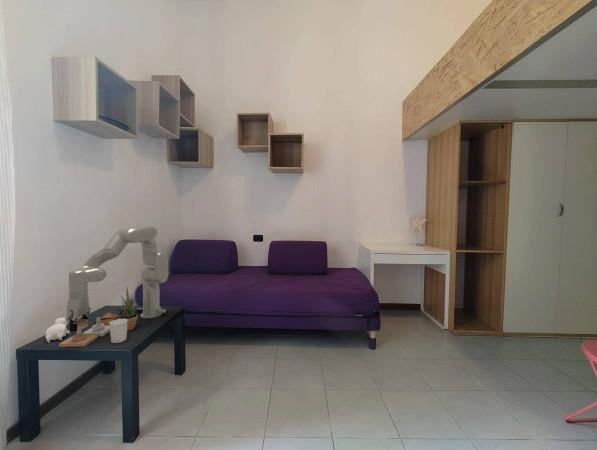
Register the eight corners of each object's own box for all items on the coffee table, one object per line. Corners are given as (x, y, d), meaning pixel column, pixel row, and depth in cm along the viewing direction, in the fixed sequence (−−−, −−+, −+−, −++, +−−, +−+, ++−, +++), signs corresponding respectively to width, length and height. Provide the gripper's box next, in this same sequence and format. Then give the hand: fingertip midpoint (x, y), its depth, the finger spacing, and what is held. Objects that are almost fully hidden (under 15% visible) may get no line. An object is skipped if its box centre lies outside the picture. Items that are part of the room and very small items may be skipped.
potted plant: (123, 326, 162) (122, 284, 162) (140, 324, 164) (140, 284, 164) (115, 333, 153) (115, 289, 152) (134, 331, 155) (133, 288, 154)
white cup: (108, 344, 138) (107, 325, 138) (111, 338, 146) (111, 319, 145) (126, 342, 142) (126, 323, 141) (128, 336, 149) (128, 317, 149)
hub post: (97, 337, 147) (97, 319, 146) (84, 346, 137) (84, 326, 136) (74, 338, 146) (73, 319, 146) (59, 346, 136) (58, 326, 136)
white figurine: (66, 344, 145) (72, 325, 157) (64, 332, 142) (70, 313, 154) (44, 348, 141) (53, 327, 153) (42, 335, 138) (51, 315, 150)
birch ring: (90, 324, 145) (90, 318, 145) (81, 329, 138) (81, 324, 138) (76, 324, 144) (76, 319, 144) (66, 330, 137) (66, 324, 137)
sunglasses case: (109, 326, 162) (103, 317, 161) (98, 333, 160) (91, 324, 159) (121, 315, 179) (115, 307, 178) (110, 321, 178) (104, 313, 177)
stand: (114, 328, 159) (114, 314, 159) (102, 336, 148) (102, 321, 148) (94, 328, 159) (94, 314, 158) (81, 336, 148) (80, 322, 147)
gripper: (82, 289, 149) (83, 322, 150) (57, 299, 132) (57, 335, 132) (97, 289, 150) (97, 321, 150) (73, 299, 132) (74, 335, 133)
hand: (79, 328), depth 141 cm, fingers closed on birch ring, 7 cm apart
